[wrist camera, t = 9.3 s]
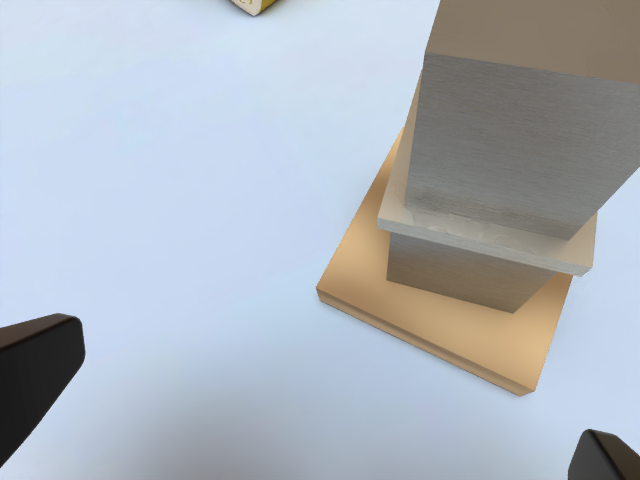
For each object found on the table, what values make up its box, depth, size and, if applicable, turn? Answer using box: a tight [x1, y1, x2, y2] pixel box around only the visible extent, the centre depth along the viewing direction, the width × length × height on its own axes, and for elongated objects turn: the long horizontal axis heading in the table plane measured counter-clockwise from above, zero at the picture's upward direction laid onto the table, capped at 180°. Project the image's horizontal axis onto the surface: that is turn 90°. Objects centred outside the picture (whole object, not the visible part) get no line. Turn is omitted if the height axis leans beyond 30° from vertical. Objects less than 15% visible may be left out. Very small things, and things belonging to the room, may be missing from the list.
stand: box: [316, 127, 573, 396], centre depth 22 cm, size 10×10×2 cm
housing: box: [377, 0, 640, 314], centre depth 15 cm, size 6×6×13 cm
